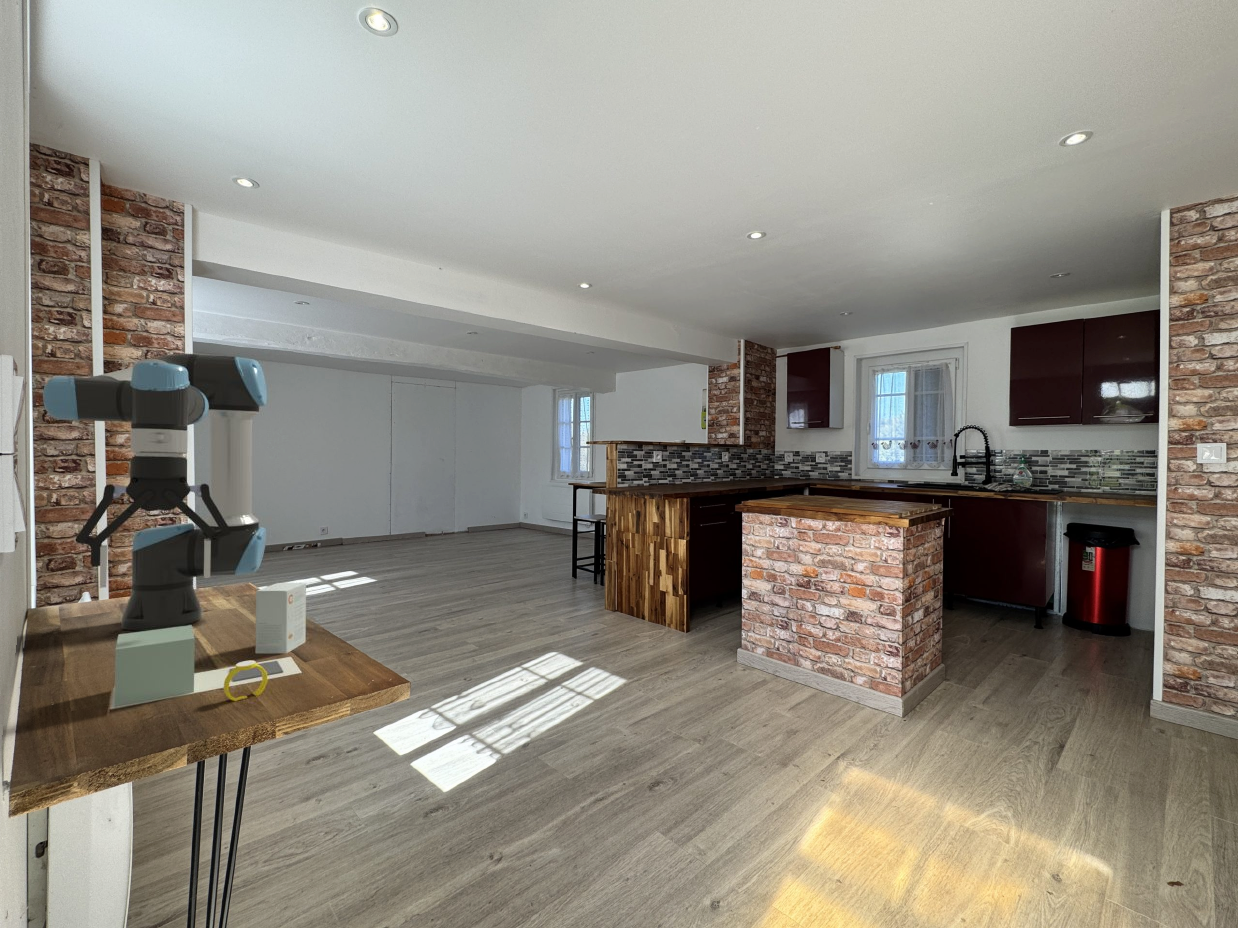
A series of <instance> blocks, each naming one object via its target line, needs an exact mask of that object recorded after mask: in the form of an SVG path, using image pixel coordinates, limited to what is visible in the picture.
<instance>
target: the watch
mask: <svg viewBox="0 0 1238 928" xmlns="http://www.w3.org/2000/svg"><path fill="white" fill-rule="evenodd" d="M256 663H257V661H256V660H244V661H239V662H237V663H236V664H235V666H236V668H234V669H233V670H232V671H230V673H229V674H228V676H227V677H226V679H225V681H224V688H222V689H223V692H224V694H225V696H226V697H227V698H228V699H229V700H231V701H233V702H237V701H240V700H244V699H247V698H248V696H247V695H242V696H237V697H235V696H233V695H231V692H230V691H229V690H230V687H229V683H230V681H231V679H232V678H233V676H234V675H235V674H236V673H237V672H239V671H240V670H248V669H251V668H254V667H256V668H259V669H260V671H261V672H262V681H260V684H259V687H258V688H257V689H256V690H255V691H254V692H253V693H252V694H253V695H254V696H259V695H261V694H262V692H263V691H264V690H265V688H266V685H267V684H268V680H269V679H267V672H266V671H265V670H264V668H263V667H261V666H260V665H257V664H256Z"/></svg>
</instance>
